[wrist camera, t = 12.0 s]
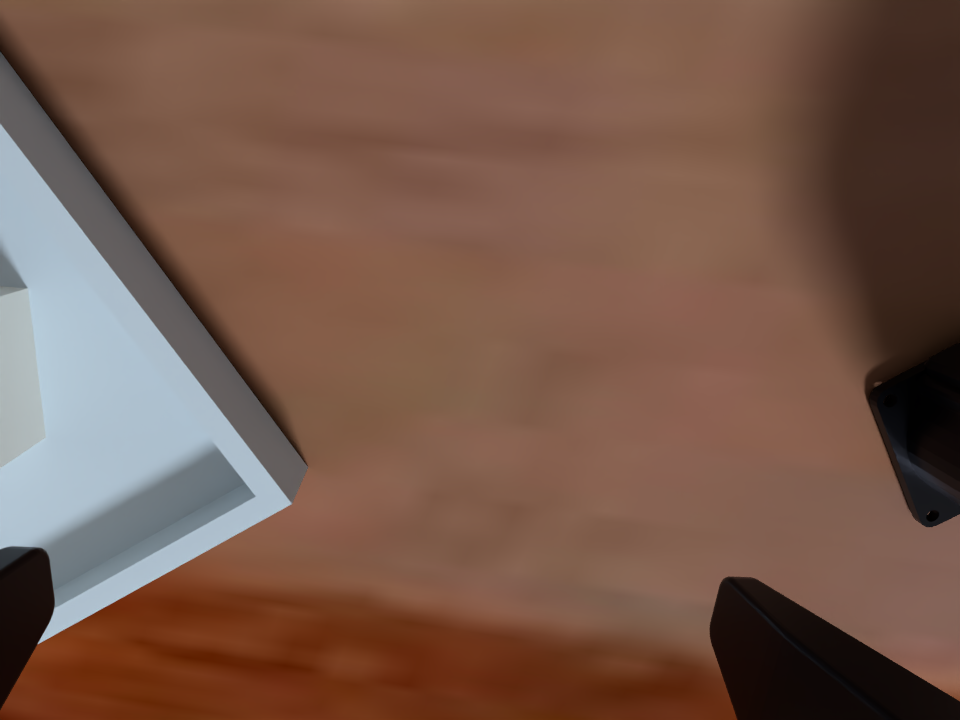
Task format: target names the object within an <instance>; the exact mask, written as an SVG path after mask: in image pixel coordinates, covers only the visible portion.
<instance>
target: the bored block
mask: <svg viewBox="0 0 960 720" xmlns="http://www.w3.org/2000/svg"><path fill="white" fill-rule="evenodd" d="M44 438H46V434H45V425H44V417H43V409H42V400H41V392H40V384H39V376H38V367H37V359H36V351H35V342H34V334H33V326H32V318H31V309H30V301H29V293H28V288H17V287H4V286H0V468H2V467H3V466H4V465H6V464H7V463H9V462H10V461H12V460H13V459H15V458H16V457H18V456H19V455H21V454H22V453H24V452H25V451H27V450H28V449H30V448H31V447H33V446H34V445H35V444H37V443H38V442H40V441H41V440H43V439H44Z"/></svg>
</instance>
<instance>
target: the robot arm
mask: <svg viewBox="0 0 960 720" xmlns="http://www.w3.org/2000/svg"><path fill="white" fill-rule="evenodd" d="M887 395H889V399H888V400H887V401H886V402H885V403H884V399H885V397H886V396H887ZM869 401H870V405H871V408H872V410H873V413H874V416H875V418H876V421H877V423H878V426H879V429H880V431H881V434H882V437H883V439H884V442H885V444H886V447H887V450H888V452H889V455H890V458H891V460H892V463H893V466H894V468H895V471H896V473H897V476H898V479H899V481H900V484H901V487H902V489H903V492H904V494H905V497H906V500H907V502H908V505H909V508H910V510H911V513H912V516H913V517H914V519H915V520H916V521H918V522H919V523H921V524H922V525H924V526H926V527H933V526H936V525H938V524H941V523H943V522H945V521H947V520H949V519H951V518H953V517H955V516H957V515H959V514H960V343H958V344H956V345H954V346H952V347H950V348H948V349H946V350H944V351H942V352H940V353H938V354H936V355H934V356H933V357H931V358H929V359H928V360H927V361H925V362H923V363H921V364H919V365H917V366H915V367H914V368H912V369H910V370H908V371H906V372H904V373H902V374H900V375H898V376H896V377H894V378H892V379H890V380H888V381H887V382H885V383H883V384H881V385H879V386H877V387H876V388H875V389H874V390H873V391H872V392H871V394H870V398H869ZM929 512H930V513H929ZM928 513H929V514H928ZM927 514H928V515H927ZM54 607H55V597H54V589H53V581H52V573H51V566H50V559H49V555H48V553H47V551H46V550H44V549H43V548H40V547H22V546H10V547H5V548H2V549H0V710H1V708H2V706H3V704H4V703H5V701H6V699H7V697H8V695H9V694H10V692H11V690H12V688H13V687H14V685H15V683H16V681H17V680H18V678H19V676H20V674H21V672H22V671H23V669H24V667H25V665H26V664H27V662H28V660H29V658H30V657H31V655H32V653H33V651H34V649H35V648H36V646H37V644H38V642H39V641H40V639H41V637H42V635H43V634H44V632H45V630H46V628H47V626H48V625H49V623H50V621H51V618H52V615H53V612H54ZM710 639H711V643H712V646H713V649H714V652H715V655H716V658H717V661H718V664H719V667H720V670H721V673H722V676H723V679H724V682H725V685H726V688H727V690H728V693H729V696H730V699H731V702H732V705H733V708H734V711H735V714H736V717H737V720H960V701H958V700H957V699H955V698H953V697H952V696H950V695H948V694H947V693H945V692H943V691H942V690H940V689H938V688H937V687H935V686H933V685H932V684H930V683H928V682H927V681H925V680H923V679H922V678H920V677H918V676H917V675H915V674H913V673H912V672H910V671H908V670H907V669H905V668H903V667H902V666H900V665H898V664H897V663H895V662H893V661H892V660H890V659H888V658H887V657H885V656H883V655H882V654H880V653H878V652H877V651H875V650H873V649H872V648H870V647H868V646H867V645H865V644H863V643H862V642H860V641H858V640H857V639H855V638H853V637H852V636H850V635H848V634H847V633H845V632H843V631H842V630H840V629H838V628H837V627H835V626H834V625H832V624H830V623H829V622H827V621H825V620H824V619H822V618H820V617H819V616H817V615H815V614H814V613H812V612H810V611H809V610H807V609H805V608H804V607H802V606H800V605H799V604H797V603H795V602H794V601H792V600H790V599H789V598H787V597H785V596H784V595H782V594H780V593H779V592H777V591H775V590H774V589H772V588H770V587H769V586H767V585H765V584H764V583H762V582H760V581H759V580H757V579H755V578H751V577H726V578H724V579H723V580H722V582H721V584H720V586H719V590H718V594H717V598H716V602H715V606H714V610H713V614H712V618H711V622H710Z"/></svg>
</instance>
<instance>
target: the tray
mask: <svg viewBox="0 0 960 720" xmlns="http://www.w3.org/2000/svg"><path fill="white" fill-rule="evenodd" d="M0 286H4V287H17V288H28V293H29V301H30V309H31V318H32V326H33V334H34V342H35V351H36V359H37V367H38V376H39V384H40V392H41V400H42V409H43V417H44V425H45V434H46V438H44V439H43V440H41V441H40V442H38V443H37V444H35V445H34V446H33V447H31V448H30V449H28V450H27V451H25V452H24V453H22V454H21V455H19V456H18V457H16V458H15V459H13V460H12V461H10V462H9V463H7V464H6V465H4V466H3V467H2V468H0V549H2V548H5V547H10V546H22V547H40V548H43V549H44V550H46V551H47V553H48V555H49V559H50V566H51V573H52V581H53V589H54V597H55V607H54V612H53V615H52V618H51V621H50V623H49V625H48V626H47V628H46V630H45V632H44V634H43V635H42V637H41V639H40V641H39V642H38V644H39V643H41V642H42V641H44V640H46V639H48V638H50V637H51V636H53V635H55V634H57V633H59V632H60V631H62V630H64V629H66V628H68V627H70V626H71V625H73V624H75V623H77V622H79V621H80V620H82V619H84V618H86V617H88V616H89V615H91V614H93V613H95V612H97V611H99V610H100V609H102V608H104V607H106V606H108V605H109V604H111V603H113V602H115V601H117V600H119V599H120V598H122V597H124V596H126V595H128V594H129V593H131V592H133V591H135V590H137V589H138V588H140V587H142V586H144V585H146V584H148V583H149V582H151V581H153V580H155V579H157V578H158V577H160V576H162V575H164V574H166V573H168V572H169V571H171V570H173V569H175V568H177V567H178V566H180V565H182V564H184V563H186V562H187V561H189V560H191V559H193V558H195V557H197V556H198V555H200V554H202V553H204V552H206V551H207V550H209V549H211V548H213V547H215V546H216V545H218V544H220V543H222V542H224V541H226V540H227V539H229V538H231V537H233V536H235V535H236V534H238V533H240V532H242V531H244V530H246V529H247V528H249V527H251V526H253V525H255V524H256V523H258V522H260V521H262V520H264V519H265V518H267V517H269V516H271V515H273V514H275V513H276V512H278V511H280V510H282V509H284V508H285V507H287V506H289V505H291V504H292V503H293V500H294V498H295V496H296V494H297V491H298V489H299V487H300V485H301V482H302V480H303V478H304V476H305V473H306V471H307V469H308V467H307V465H306V464H305V463H304V461H303V460H302V459H301V457H300V456H299V454H298V453H297V452H296V450H295V449H294V448H293V446H292V445H291V444H290V442H289V441H288V440H287V438H286V437H285V436H284V434H283V433H282V431H281V430H280V429H279V427H278V426H277V425H276V423H275V422H274V421H273V419H272V418H271V417H270V415H269V414H268V413H267V411H266V410H265V409H264V407H263V406H262V404H261V403H260V402H259V400H258V399H257V398H256V396H255V395H254V394H253V392H252V391H251V390H250V388H249V387H248V386H247V384H246V383H245V381H244V380H243V379H242V377H241V376H240V375H239V373H238V372H237V371H236V369H235V368H234V367H233V365H232V364H231V363H230V361H229V360H228V359H227V357H226V356H225V354H224V353H223V352H222V350H221V349H220V348H219V346H218V345H217V344H216V342H215V341H214V340H213V338H212V337H211V336H210V334H209V333H208V331H207V330H206V329H205V327H204V326H203V325H202V323H201V322H200V321H199V319H198V318H197V317H196V315H195V314H194V313H193V311H192V310H191V309H190V307H189V306H188V304H187V303H186V302H185V300H184V299H183V298H182V296H181V295H180V294H179V292H178V291H177V290H176V288H175V287H174V286H173V284H172V283H171V281H170V280H169V279H168V277H167V276H166V275H165V273H164V272H163V271H162V269H161V268H160V267H159V265H158V264H157V263H156V261H155V260H154V259H153V257H152V256H151V254H150V253H149V252H148V250H147V249H146V248H145V246H144V245H143V244H142V242H141V241H140V240H139V238H138V237H137V236H136V234H135V233H134V231H133V230H132V229H131V227H130V226H129V225H128V223H127V222H126V221H125V219H124V218H123V217H122V215H121V214H120V213H119V211H118V210H117V209H116V207H115V206H114V204H113V203H112V202H111V200H110V199H109V198H108V196H107V195H106V194H105V192H104V191H103V190H102V188H101V187H100V186H99V184H98V183H97V181H96V180H95V179H94V177H93V176H92V175H91V173H90V172H89V171H88V169H87V168H86V167H85V165H84V164H83V163H82V161H81V160H80V159H79V157H78V156H77V154H76V153H75V152H74V150H73V149H72V148H71V146H70V145H69V144H68V142H67V141H66V140H65V138H64V137H63V136H62V134H61V133H60V131H59V130H58V129H57V127H56V126H55V125H54V123H53V122H52V121H51V119H50V118H49V117H48V115H47V114H46V113H45V111H44V110H43V109H42V107H41V106H40V104H39V103H38V102H37V100H36V99H35V98H34V96H33V95H32V94H31V92H30V91H29V90H28V88H27V87H26V86H25V84H24V83H23V82H22V80H21V79H20V77H19V76H18V75H17V73H16V72H15V71H14V69H13V68H12V67H11V65H10V64H9V63H8V61H7V60H6V59H5V57H4V56H3V54H2V53H1V52H0Z"/></svg>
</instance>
